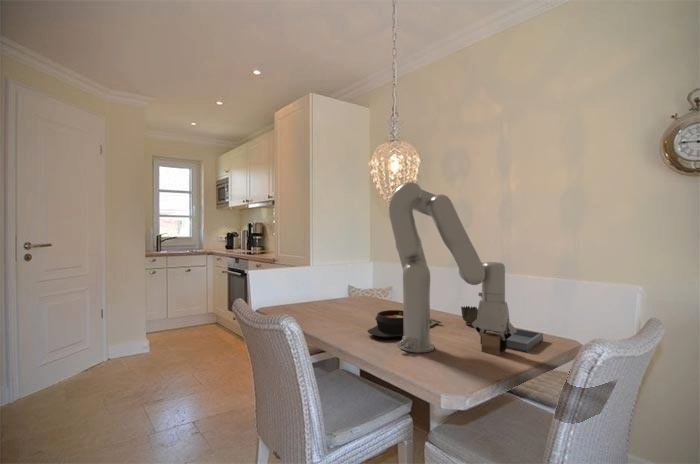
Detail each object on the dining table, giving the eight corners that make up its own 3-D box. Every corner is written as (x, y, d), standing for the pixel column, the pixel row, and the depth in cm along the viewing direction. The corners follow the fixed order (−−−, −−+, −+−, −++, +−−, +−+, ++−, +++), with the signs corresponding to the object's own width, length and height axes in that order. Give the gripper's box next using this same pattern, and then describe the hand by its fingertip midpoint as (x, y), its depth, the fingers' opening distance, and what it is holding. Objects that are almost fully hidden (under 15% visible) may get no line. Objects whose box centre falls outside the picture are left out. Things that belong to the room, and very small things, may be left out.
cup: (480, 327, 160) (480, 309, 160) (464, 327, 160) (464, 309, 160) (475, 323, 167) (475, 305, 167) (459, 323, 167) (459, 305, 167)
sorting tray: (527, 352, 127) (527, 343, 127) (482, 342, 138) (482, 334, 138) (542, 341, 140) (542, 333, 140) (500, 333, 151) (500, 325, 151)
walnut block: (498, 355, 124) (498, 337, 124) (481, 351, 128) (481, 334, 128) (505, 351, 128) (505, 334, 128) (488, 347, 132) (488, 330, 132)
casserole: (402, 324, 165) (402, 306, 165) (433, 334, 150) (433, 313, 150) (357, 334, 150) (357, 313, 150) (387, 345, 135) (387, 322, 135)
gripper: (465, 295, 131) (465, 345, 131) (514, 302, 119) (515, 357, 119) (474, 293, 137) (474, 341, 137) (522, 299, 125) (522, 351, 125)
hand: (493, 348), depth 128 cm, fingers closed on walnut block, 6 cm apart
